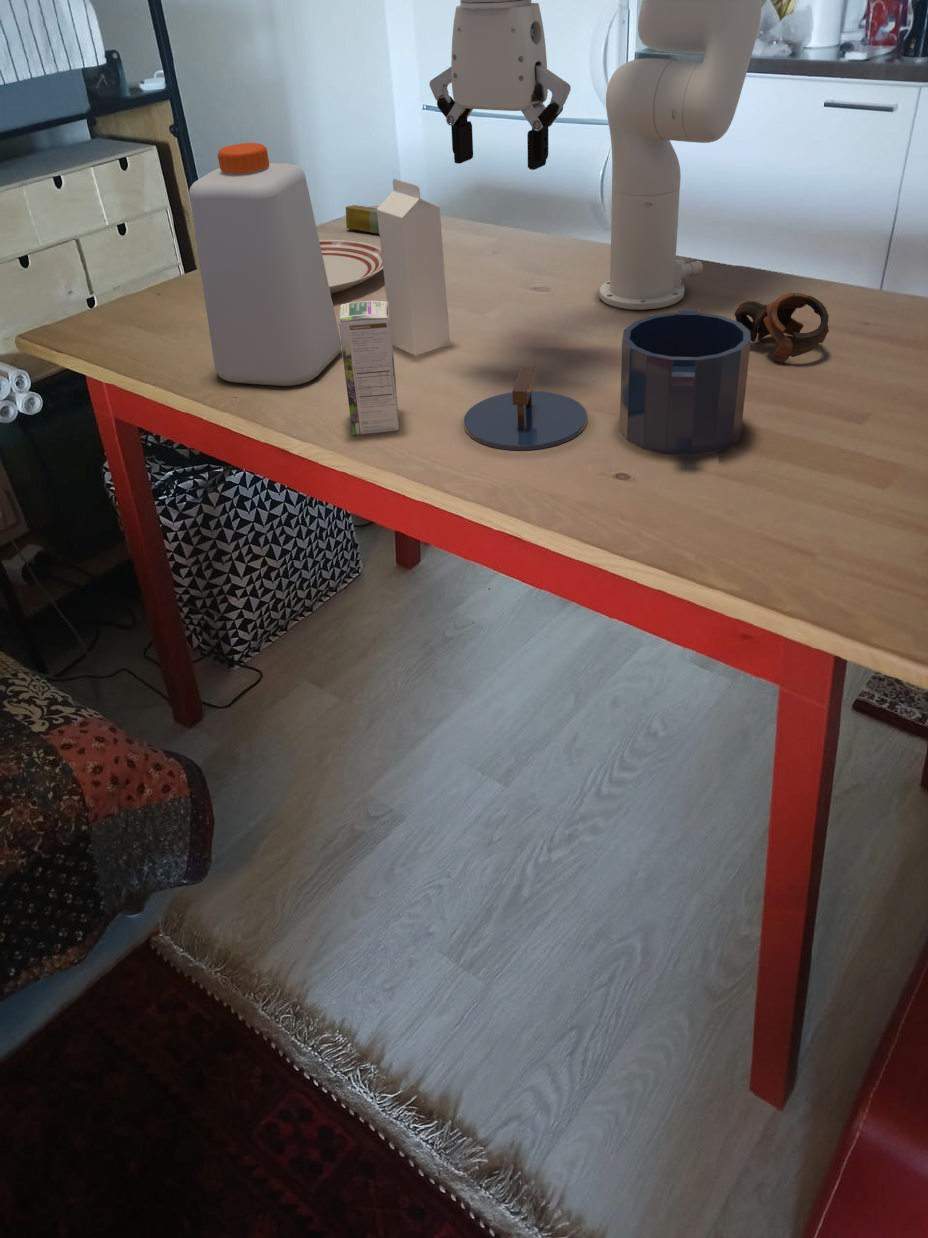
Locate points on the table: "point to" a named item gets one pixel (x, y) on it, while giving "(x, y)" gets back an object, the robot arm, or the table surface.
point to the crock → (683, 382)
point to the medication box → (362, 218)
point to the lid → (525, 417)
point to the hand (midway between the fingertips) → (499, 163)
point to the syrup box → (369, 366)
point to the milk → (413, 270)
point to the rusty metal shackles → (784, 324)
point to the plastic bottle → (262, 270)
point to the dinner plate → (349, 262)
